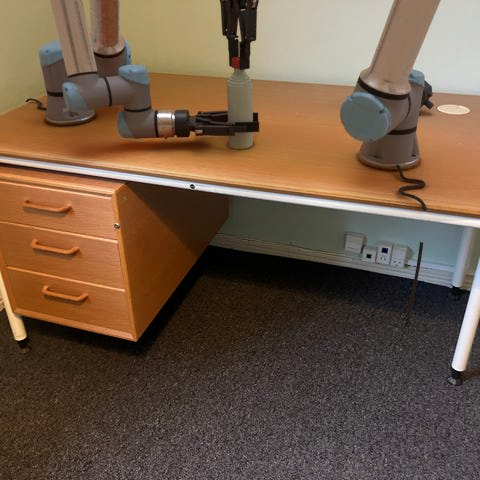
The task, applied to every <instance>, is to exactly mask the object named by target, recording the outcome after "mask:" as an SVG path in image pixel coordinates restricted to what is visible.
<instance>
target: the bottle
mask: <svg viewBox="0 0 480 480" xmlns="http://www.w3.org/2000/svg"><path fill="white" fill-rule="evenodd" d="M253 90H254V89H253V81H252V79H251V77H250V76H249V74H248V73H247V72H246V69H245V70H240V69H234V68H233V72H232V74H231V75H230V77H229V79H228V80H227V81H226V96H227V97H226V99H227V101H226V102H227V110H228V123H233V124H235V122H253V112H254V111H253V109H254V108H253V107H254V103H253V102H254V98H253ZM228 146H229V147H230V148H232V149H236V150H244V149H249V148H251V147H253V146H254V132H240V133H235V136H228Z"/></svg>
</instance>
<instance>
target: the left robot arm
mask: <svg viewBox="0 0 480 480" xmlns="http://www.w3.org/2000/svg"><path fill="white" fill-rule="evenodd" d="M49 2H50V7H51V10H52V15H53V20H54V24H55V27H56V32H57V36H58V40H54V41H50V42H48V43H46V44H44V45H42V46H41V47H40V48H39V50H38V57H39V66H40V68H41V73H42V77H43V81H44V86H45V91H46V107H45V106H42V101H40V100H38V99H36V98H31V97H30V98H27V99H26V100H25V103H28V102H31V101H33V102H36V103H38V104H37V108H38V109H39V110H45V120H46V123H48V124H49V125H53V126H57V127H67V126H68V127H69V126H77V125H82V124H85V123H88V122H91V121H92V120H94V118H95V117H96V110H99V109H100V110H101V109H106V108H113V107H118V106H123V107H122V108H123V110H119V111H118V112H117V115H116V127H117V132H118V135H119V136H120V137H121V138H123V139H135V140H139V139H156V138H157V139H163V138H164V140H168V139H169V138H175V137H176V138H179V139H181V138H190V136H191V132H193V133H195V134H194V135H195V137H203V136H205V137H206V136H207V137H208V136H209V137H229V136H235V133H240V132H253V133H260V121H259V112H257V111H256V112H255V111H253V122H235V124H233V123H228V109H227V110H208V111H204V110H199V111H197V114H195V115H190V111H189V109H176V110H175V111H174V109H153V107H152V98H151V97H152V96H151V86H150V85H151V83H150V77H149V74H148V73H149V72H148V69H147V67H145V66H144V65H142V64H140V65H138V64H139V63H132V52H131V51H132V50H131V46H130V44H129V42H128V41H127V40H126V39H125V37H124V36H123V35H122V34H121V8H122V7H121V5H122V3H121V2H122V0H89V3H88V5H89V26H90V27H88V22H87V21H88V20H87V17H86V12H85V7H84V3H83V0H49ZM89 28H90V30H89Z"/></svg>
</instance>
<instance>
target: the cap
mask: <svg viewBox="0 0 480 480" xmlns="http://www.w3.org/2000/svg"><path fill="white" fill-rule="evenodd" d="M231 66H232V67H231V68H232V69H233V70H234V69H240V61H239V57H234V58H232V60H231Z"/></svg>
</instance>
